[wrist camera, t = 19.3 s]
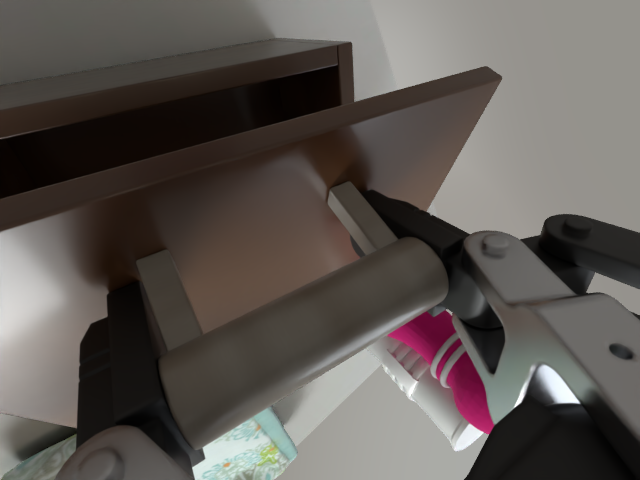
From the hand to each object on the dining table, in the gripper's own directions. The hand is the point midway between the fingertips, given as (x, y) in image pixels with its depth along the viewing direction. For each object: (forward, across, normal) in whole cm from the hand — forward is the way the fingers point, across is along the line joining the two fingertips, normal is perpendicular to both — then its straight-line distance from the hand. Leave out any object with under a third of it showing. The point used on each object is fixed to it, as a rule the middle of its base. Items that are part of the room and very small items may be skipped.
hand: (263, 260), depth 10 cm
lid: (+3, 0, +4) cm, 5 cm away
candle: (+15, -15, +26) cm, 33 cm away
